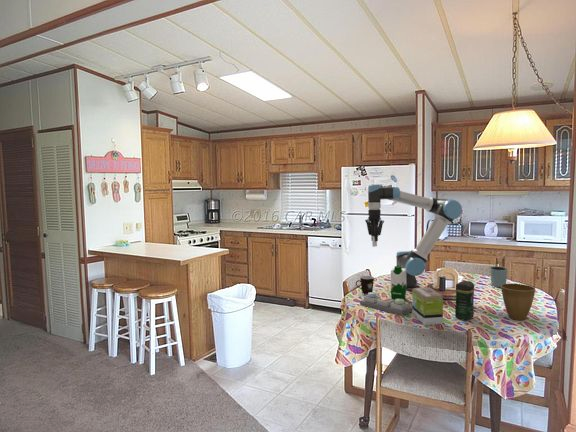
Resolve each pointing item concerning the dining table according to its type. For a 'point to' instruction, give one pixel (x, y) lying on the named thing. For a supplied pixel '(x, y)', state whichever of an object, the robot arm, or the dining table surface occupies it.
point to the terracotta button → (385, 299)
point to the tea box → (427, 306)
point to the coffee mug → (366, 284)
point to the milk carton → (398, 283)
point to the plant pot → (517, 300)
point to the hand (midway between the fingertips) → (374, 246)
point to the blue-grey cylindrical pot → (498, 276)
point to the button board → (386, 305)
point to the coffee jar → (464, 300)
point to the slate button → (372, 295)
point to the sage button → (399, 301)
